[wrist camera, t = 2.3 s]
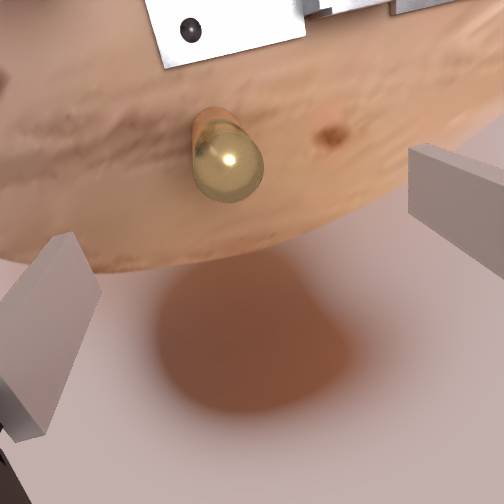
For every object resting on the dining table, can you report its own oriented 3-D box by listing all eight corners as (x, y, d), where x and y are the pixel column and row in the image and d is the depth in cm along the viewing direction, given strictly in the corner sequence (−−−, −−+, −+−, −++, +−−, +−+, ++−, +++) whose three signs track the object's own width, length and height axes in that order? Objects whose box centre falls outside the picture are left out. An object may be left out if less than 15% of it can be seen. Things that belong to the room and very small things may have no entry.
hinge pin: (199, 160, 32) (203, 209, 22) (185, 113, 30) (184, 142, 20) (243, 149, 32) (269, 193, 22) (233, 102, 30) (256, 124, 20)
